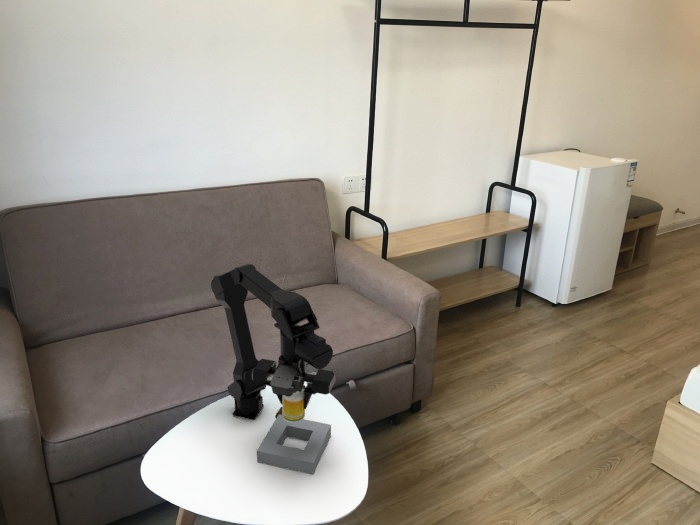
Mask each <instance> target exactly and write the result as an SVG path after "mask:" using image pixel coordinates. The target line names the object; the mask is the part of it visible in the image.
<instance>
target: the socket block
mask: <svg viewBox="0 0 700 525" xmlns="http://www.w3.org/2000/svg"><path fill="white" fill-rule="evenodd" d="M331 436H332V424H329V423H323V422H321V421H314V420H309V419H305V418H304V419H303V420H302V421H300V422H298V423H289V422H287V421H285V420H284V419H283V417H282V415H280V414H279V415H278V417H277V418H275V419H274V422H273V423H272V425H271V426H270V428H269V430H268V431H267V433H266V435H265V436H264V438H263V440H262V442H260V444H259V446H258V447H257V449H256V461H257V463H259V464H264V465H267V466H272V467H277V468H282V469H285V470H291V471H295V472H300V473H304V474H308V475H312V476H313V475H314V474H315V471H317V470H316V469H317V468H318V465H319V463H320V461H321V459H322V457H323V454H324V452H325V450H326V449H327V446H328V443H329V441H330V439H331ZM291 437H292V438H291ZM288 438H291V439H295V440H296V439H297V440H302V441H306V442H307V443H306V445H305V447H304V449H302V448H297V447H293V446H288V445H284V442H285V441H286V439H288Z"/></svg>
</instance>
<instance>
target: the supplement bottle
mask: <svg viewBox="0 0 700 525" xmlns="http://www.w3.org/2000/svg"><path fill="white" fill-rule="evenodd" d="M303 391H304V389H303V388H302V391H301V392H299V391H297V392H296V393H293V395H292V396H290V397H287V396H285V395H282V405H281V406H282V417H283V419H284V420H285V421H287V422H289V423H298V422H300V421H302V420H303V419H305V417H306V416H305V415H306V409H304V395H305V393H304V392H303Z"/></svg>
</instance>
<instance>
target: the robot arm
mask: <svg viewBox="0 0 700 525" xmlns="http://www.w3.org/2000/svg"><path fill="white" fill-rule="evenodd" d="M210 287H211V290H212V293H213V294H214V298H215V300H216V301H217V302H218V303H219V304H220V306H222V307H223V308H224V311H225V316H226V319H227V320H226V321H227V325H228V329H229V333H230V339H231V343H232V347H233V351H234V357H235V360H236V361H235V362H236V363H235V365H234V368H233V371H232V378H233V382H232V383H230V384H229V385H228V386H227V387H226V388H227V392H228V395H230V396H231V397H232V398H233V400H234V411H233V412H232V413H231V414H232V416H233V417H236V418H237V417H238V418H242V419H247V420H252V421H255V420H256V419H257V417H258V415H260V414H261V412H262V411H263V409H264V407H265V404H264V399H263V397H264V396H262V394H261V392H262V391H263V390H266V387H271V390H272V393H273V394H274V395H276V398H277V399H278V401H279V403H280V405H281V406H282V395H285V396H287V397H290V396H292V395H293V393H296V392H297V391H299V392H301V391H302V388H303V385H305V382H306V385H305V387H306V388H305V389H304V391H303V392H304V393H305V395H304V409H305V410H306V409H307V407H308V406H309V403H310V401H311V398H312V395H316V394H321V395H328V394H330V393H331V391H332V389H333V386H334V385H335V383H336V374H335V372H334V371H331V370H327V369H324V368H326V367H327V366H328V365H329V364H330V362H331V360H332V359H333V355H334V350H333V348H332V346H331V345H330V344H329V343H327V340H326V338H324V337H323V336H320V335H317V334H316V333H315V331H317V330H318V329H320V325H319V322H318V318H317V316H316V314H315V313H314V311H313V309H312V306H311V304H310V302H309V301H308V299H307V298H306V296H303V295H302V294H300V293H298V292H295V291H291V290H290V291H289V290H285V289H282V288H281V287H280V286H278V285H277V284H275V282H274V281H272V280H270V279H269V278H268V277H266V276H265V275H264V274H262V273H261V272H260V271H259V270H257V268H256V266H255V265H254V264H252V263H245V264H241V265H240V266H237V267H234V268H233V269H231V270H228V271H225V272H223V273H220V274H217V275H214V276H213V279H212V280H211V282H210ZM249 292H250V293H251V294H252V295H253V296H254V297H255V298H256V299H258V300H259V301H261V302H262V303H263V304H264V305H266V306H267V308H268V309H269V311H270V316H271V318H272V319H273V320H274V321H275V323H274V324H273V326H274V327H275V328H276V329H278V330H279V338H280V339H279V342H280V345H279V347H280V348H279V349H280V355H279V357H278V360H277V361H275V360H272V359H271V360H270V359H265V358H261V359H260V360H259V359H258V358H257V357H256V353H255V348H254V343H253V340H252V339H253V338H252V334H251V329H250V326H249V320H248V317H247V313H246V312H247V311H246V307H245V303H246V300H247V296H248V293H249ZM304 321H307V322H306V323H303V324H302V325H300V323H302V322H304ZM308 365H309V366H311V367H312V368H314V369H316V370H317V372H316V371H315V372H307V369H308V367H309V366H308Z"/></svg>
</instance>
